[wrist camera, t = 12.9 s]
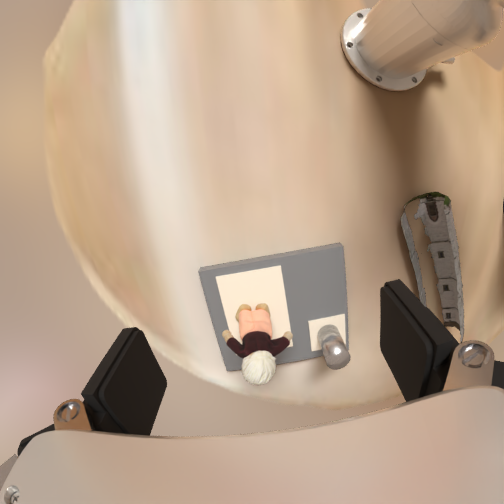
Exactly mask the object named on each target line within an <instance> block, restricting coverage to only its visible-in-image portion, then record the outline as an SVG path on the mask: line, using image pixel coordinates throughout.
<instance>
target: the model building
mask: <svg viewBox="0 0 504 504" xmlns="http://www.w3.org/2000/svg"><path fill="white" fill-rule="evenodd" d="M427 194H429V195H428V197H427ZM417 198H419V199H420V204H419V209H418V210H417V211H418V212H417V213H416V214H415V215H414V218H415V219H418V217H420V218H421V220H422V223H423V225H425V226H426V227H425V229H424V230H425V234H426V235H427V236H430V241H431V242H432V243H431V244H429V245H428V248H430V249H427V251H429V250H430V251H431V253H432V254H431V255H432V257H431V258H433V259H434V264H435V266H434V268H435V273H437V277H438V281H439V283H438V284H437V287H438V291H439V294H440V299H441V306H442V308H443V309H442V315H443V319H444V326H451V327H454V326H455V327H456V328H457V329H459V331H460V334H461V340H460V341H461V343H462V340H463V335H464V309H463V305H464V303H463V291H462V287H463V285H462V282H461V270H460V260H459V252H458V249H459V246H458V242H457V236H456V230H455V226H454V219H453V215H452V210H451V200H450V199H449V197H448V196H445V195H443V194H441V193H439V192H431V193H426V194H423V195H421V196H418V197H415V198H413V199H412V200H411V201H413V200H415V199H417ZM411 201H409V202H411ZM409 202H408V203H409ZM408 203H406V204H405V205H404V212H403V215H402V216H401V218H400V220H401V226H402V230H403V231H404V232H403V233H404V237H405V239H406V242H407V246H408V249H409V255H410V259H411V262H412V264H413V268H414V270H415V276H416V279H417V285H418V291H419V298H420V301H421V303H422V304H423V305H424V306H425V307H426V296H425V294H426V293H425V290H424V289H425V288H423V285H422V275H421V272H420V270H421V269H420V265H419V261H418V260H419V257H417V256H418V254H417V252H416V251H415V245H414V241H413V236H412V231H411V229H410V227H409V224H408V220H407V217H406V213H405V207H406V205H407V204H408ZM421 254H422V253H421ZM461 343H460V344H461Z"/></svg>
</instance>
